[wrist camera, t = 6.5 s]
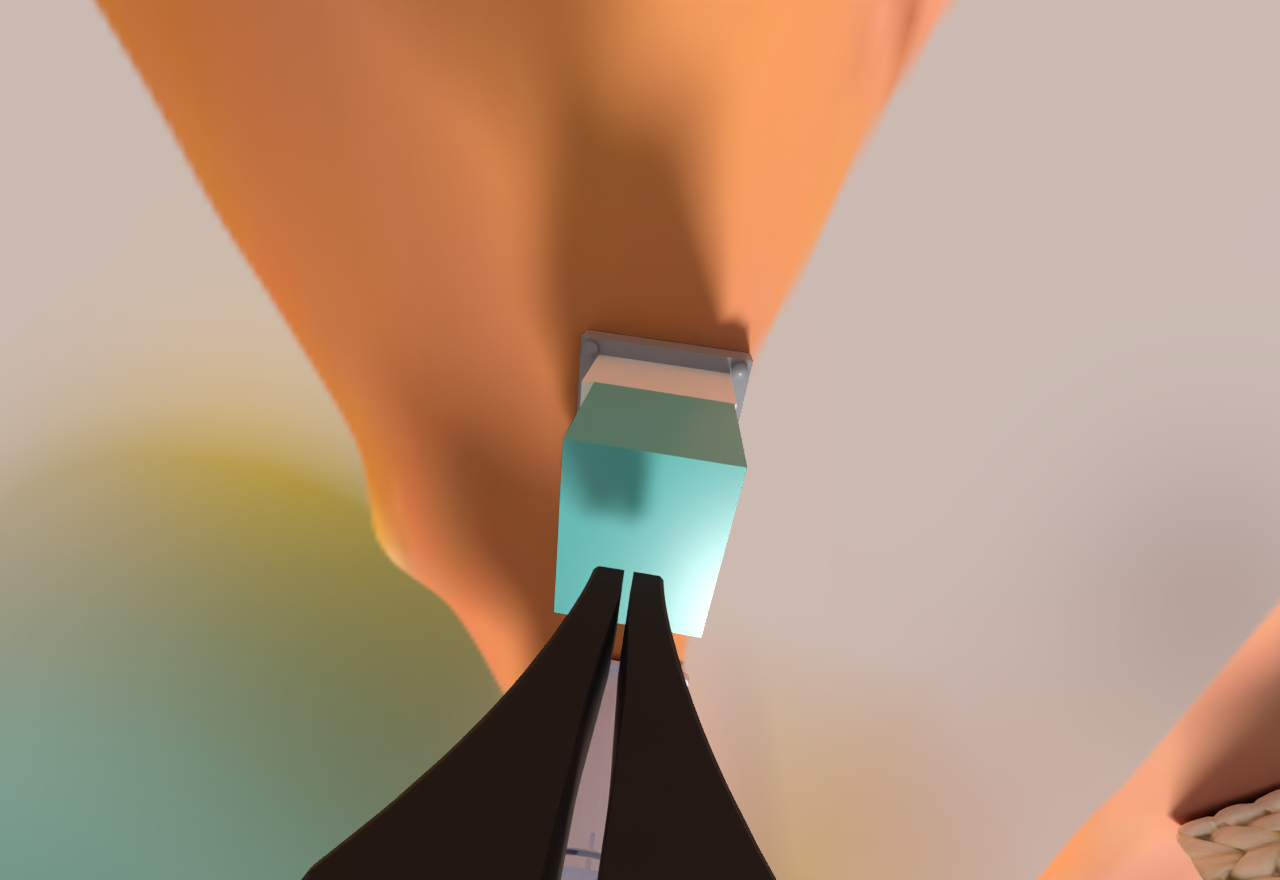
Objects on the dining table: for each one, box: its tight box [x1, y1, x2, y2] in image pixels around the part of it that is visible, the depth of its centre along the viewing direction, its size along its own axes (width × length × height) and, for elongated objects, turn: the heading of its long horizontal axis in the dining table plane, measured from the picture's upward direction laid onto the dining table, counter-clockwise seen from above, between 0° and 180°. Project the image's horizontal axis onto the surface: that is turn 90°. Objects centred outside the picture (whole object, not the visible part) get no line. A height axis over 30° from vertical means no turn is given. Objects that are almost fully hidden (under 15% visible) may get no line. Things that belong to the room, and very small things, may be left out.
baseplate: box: [577, 330, 753, 421], centre depth 19 cm, size 7×6×1 cm
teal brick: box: [554, 382, 747, 638], centre depth 14 cm, size 6×4×4 cm
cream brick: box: [580, 355, 737, 409], centre depth 18 cm, size 6×5×3 cm
